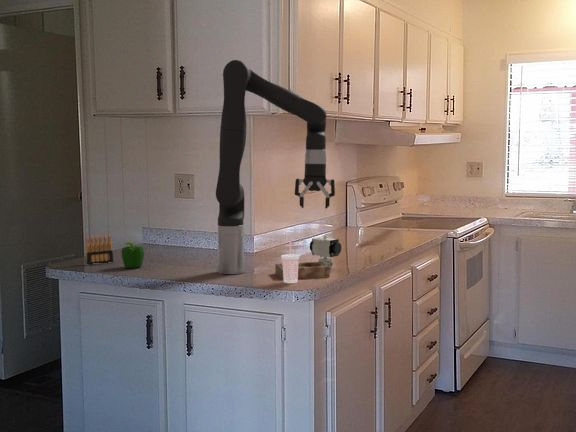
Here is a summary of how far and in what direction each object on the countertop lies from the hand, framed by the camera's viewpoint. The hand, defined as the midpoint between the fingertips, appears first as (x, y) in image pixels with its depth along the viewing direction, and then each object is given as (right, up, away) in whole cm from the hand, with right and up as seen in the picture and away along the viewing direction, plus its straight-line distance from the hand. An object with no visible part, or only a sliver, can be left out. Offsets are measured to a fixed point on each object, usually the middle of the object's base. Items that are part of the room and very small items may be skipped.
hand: (314, 208), depth 250 cm
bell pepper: (-68, -23, +16) cm, 74 cm away
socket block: (-4, -24, -3) cm, 24 cm away
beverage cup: (-9, -25, -15) cm, 31 cm away
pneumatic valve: (+4, -22, +11) cm, 25 cm away
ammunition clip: (-84, -22, +25) cm, 90 cm away
